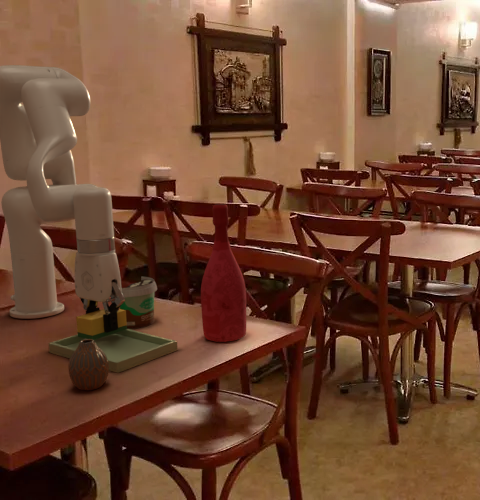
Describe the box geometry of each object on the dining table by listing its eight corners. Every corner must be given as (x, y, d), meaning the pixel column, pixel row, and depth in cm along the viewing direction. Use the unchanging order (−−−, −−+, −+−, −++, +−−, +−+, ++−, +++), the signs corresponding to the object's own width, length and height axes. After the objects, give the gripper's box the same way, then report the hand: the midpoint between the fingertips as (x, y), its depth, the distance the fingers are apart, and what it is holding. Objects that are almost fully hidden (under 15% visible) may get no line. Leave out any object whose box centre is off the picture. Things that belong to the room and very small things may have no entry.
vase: (76, 379, 132) (72, 335, 131) (114, 378, 133) (110, 334, 131) (65, 394, 126) (61, 347, 124) (104, 393, 126) (101, 346, 125)
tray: (49, 352, 147) (48, 343, 147) (110, 333, 160) (109, 324, 160) (117, 373, 136) (117, 362, 135) (177, 350, 149) (177, 340, 148)
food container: (143, 332, 161) (141, 289, 159) (119, 330, 162) (116, 288, 160) (167, 316, 173) (165, 277, 171) (144, 315, 174) (142, 276, 172)
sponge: (77, 336, 150) (75, 316, 149) (112, 326, 157) (110, 307, 156) (92, 340, 147) (91, 320, 146) (127, 329, 155) (125, 310, 154)
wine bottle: (193, 337, 157) (187, 203, 152) (229, 327, 164) (224, 199, 159) (220, 346, 151) (215, 208, 145) (256, 336, 158) (252, 203, 152)
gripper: (55, 245, 150) (62, 327, 153) (108, 252, 141) (114, 339, 144) (85, 240, 156) (91, 318, 160) (137, 247, 147) (143, 330, 151)
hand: (102, 328), depth 152 cm, fingers closed on sponge, 5 cm apart
